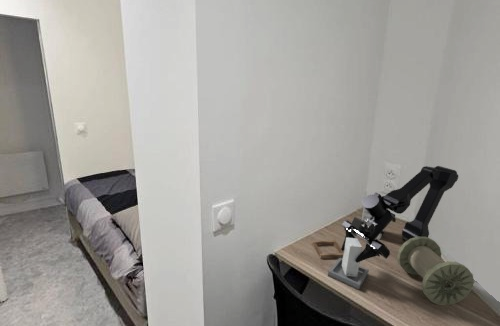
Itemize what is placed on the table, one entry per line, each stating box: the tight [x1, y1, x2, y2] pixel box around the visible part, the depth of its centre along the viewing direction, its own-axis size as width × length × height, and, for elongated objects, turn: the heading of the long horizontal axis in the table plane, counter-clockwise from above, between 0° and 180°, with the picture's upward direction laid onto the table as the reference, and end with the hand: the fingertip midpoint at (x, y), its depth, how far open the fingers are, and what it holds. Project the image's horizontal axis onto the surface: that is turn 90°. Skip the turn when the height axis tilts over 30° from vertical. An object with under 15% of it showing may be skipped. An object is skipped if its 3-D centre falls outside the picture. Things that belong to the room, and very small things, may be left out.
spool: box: [396, 236, 475, 306], centre depth 94 cm, size 16×15×15 cm
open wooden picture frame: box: [311, 240, 344, 260], centre depth 115 cm, size 10×10×2 cm
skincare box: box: [342, 237, 363, 277], centre depth 98 cm, size 6×4×12 cm
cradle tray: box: [327, 258, 370, 291], centre depth 100 cm, size 11×11×2 cm
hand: (348, 255), depth 98 cm, fingers closed on skincare box, 7 cm apart
